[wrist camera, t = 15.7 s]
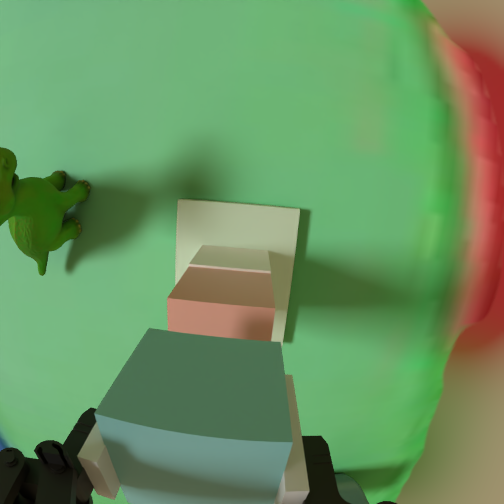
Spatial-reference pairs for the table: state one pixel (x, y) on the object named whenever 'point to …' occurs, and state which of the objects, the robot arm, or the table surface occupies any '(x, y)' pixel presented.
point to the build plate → (240, 244)
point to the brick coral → (222, 304)
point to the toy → (38, 209)
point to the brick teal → (198, 420)
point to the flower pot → (350, 490)
